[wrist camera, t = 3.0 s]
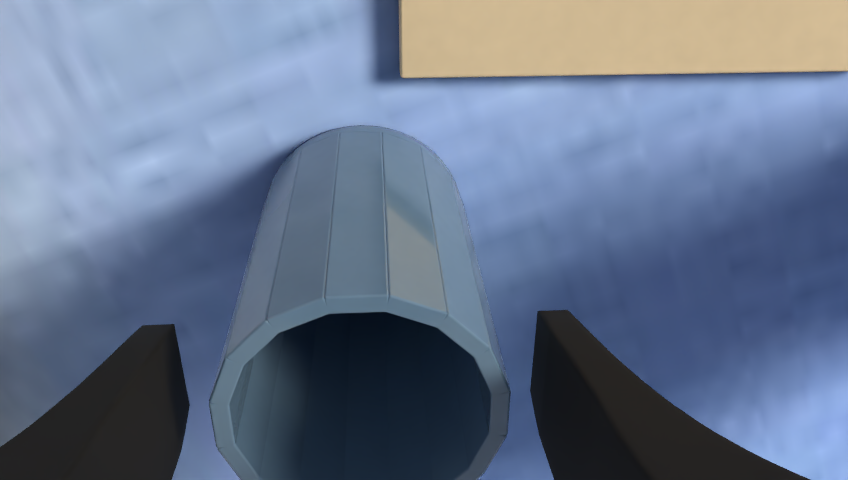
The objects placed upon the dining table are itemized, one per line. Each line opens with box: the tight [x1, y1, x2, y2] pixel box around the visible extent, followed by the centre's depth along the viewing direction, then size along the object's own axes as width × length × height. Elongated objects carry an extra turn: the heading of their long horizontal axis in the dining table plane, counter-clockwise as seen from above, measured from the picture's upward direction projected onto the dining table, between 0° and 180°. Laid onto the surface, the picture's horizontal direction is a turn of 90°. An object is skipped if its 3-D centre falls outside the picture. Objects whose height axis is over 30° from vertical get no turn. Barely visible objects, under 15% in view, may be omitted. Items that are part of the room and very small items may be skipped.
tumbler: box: [209, 126, 511, 480], centre depth 17 cm, size 5×5×8 cm
